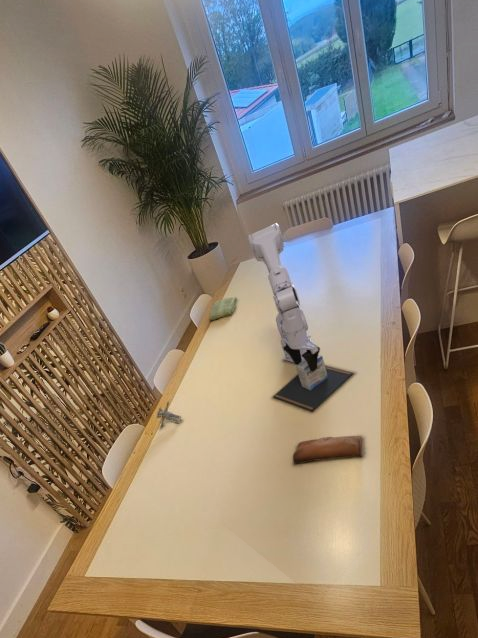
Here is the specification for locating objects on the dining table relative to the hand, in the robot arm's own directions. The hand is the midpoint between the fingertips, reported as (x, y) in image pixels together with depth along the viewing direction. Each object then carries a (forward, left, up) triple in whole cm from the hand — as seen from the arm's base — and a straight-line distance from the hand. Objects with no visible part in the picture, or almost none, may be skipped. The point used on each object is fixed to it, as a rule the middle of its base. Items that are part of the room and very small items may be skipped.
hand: (306, 366), depth 131 cm
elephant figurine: (-38, -36, -8) cm, 53 cm away
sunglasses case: (+24, -21, -8) cm, 33 cm away
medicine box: (0, +1, -8) cm, 8 cm away
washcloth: (-87, +30, -8) cm, 92 cm away
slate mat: (0, 0, -8) cm, 8 cm away
